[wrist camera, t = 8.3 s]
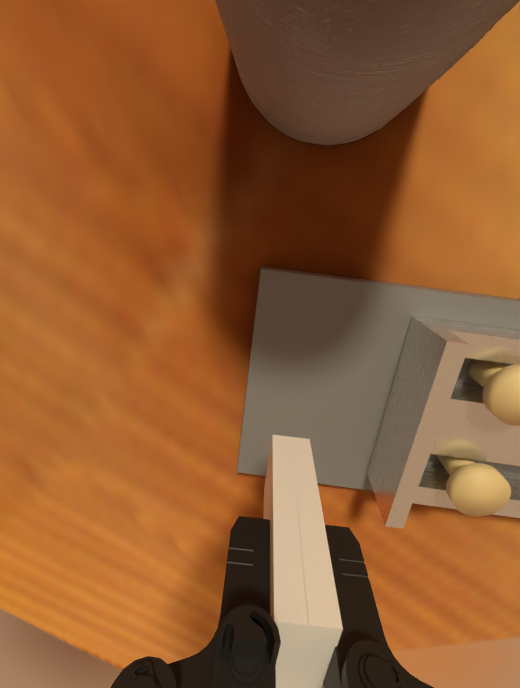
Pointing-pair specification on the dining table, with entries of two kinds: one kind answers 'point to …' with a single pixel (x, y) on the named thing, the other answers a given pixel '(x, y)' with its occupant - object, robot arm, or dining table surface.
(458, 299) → the board
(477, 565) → the dining table surface
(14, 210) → the dining table surface
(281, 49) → the pillar candle
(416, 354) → the keyhole panel
